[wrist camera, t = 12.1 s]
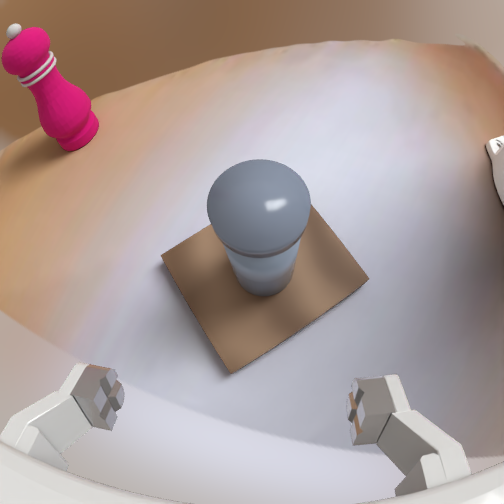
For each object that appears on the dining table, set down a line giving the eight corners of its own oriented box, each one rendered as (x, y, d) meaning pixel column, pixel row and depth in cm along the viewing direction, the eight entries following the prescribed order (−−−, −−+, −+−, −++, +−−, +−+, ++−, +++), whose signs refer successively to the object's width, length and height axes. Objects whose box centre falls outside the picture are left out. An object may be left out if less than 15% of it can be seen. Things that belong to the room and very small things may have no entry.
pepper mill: (76, 161, 35) (-7, 48, 16) (51, 146, 36) (-23, 49, 18) (112, 121, 37) (49, 2, 18) (83, 110, 38) (25, 8, 19)
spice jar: (272, 226, 28) (271, 145, 18) (308, 275, 26) (331, 213, 16) (220, 259, 27) (189, 191, 17) (254, 311, 26) (242, 270, 15)
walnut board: (288, 187, 31) (289, 178, 30) (364, 283, 27) (369, 278, 26) (165, 261, 29) (160, 255, 28) (232, 373, 25) (230, 373, 24)
